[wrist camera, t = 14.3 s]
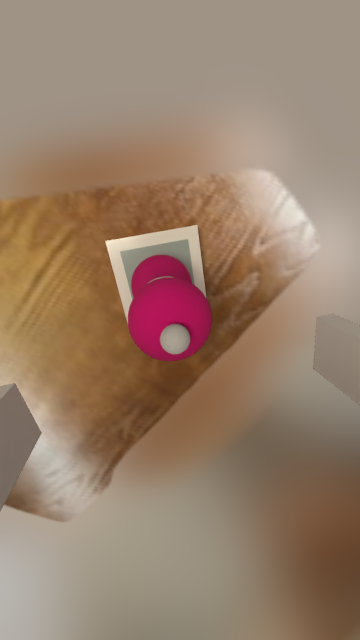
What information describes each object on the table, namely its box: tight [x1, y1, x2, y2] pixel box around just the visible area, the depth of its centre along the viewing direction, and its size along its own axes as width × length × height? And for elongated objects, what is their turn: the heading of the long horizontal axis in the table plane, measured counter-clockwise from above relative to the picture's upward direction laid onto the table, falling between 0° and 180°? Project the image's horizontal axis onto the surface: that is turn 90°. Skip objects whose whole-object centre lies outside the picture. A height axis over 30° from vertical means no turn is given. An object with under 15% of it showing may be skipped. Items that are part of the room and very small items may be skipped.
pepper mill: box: [128, 255, 212, 361], centre depth 22 cm, size 7×7×20 cm
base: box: [105, 225, 206, 322], centre depth 32 cm, size 12×12×3 cm
